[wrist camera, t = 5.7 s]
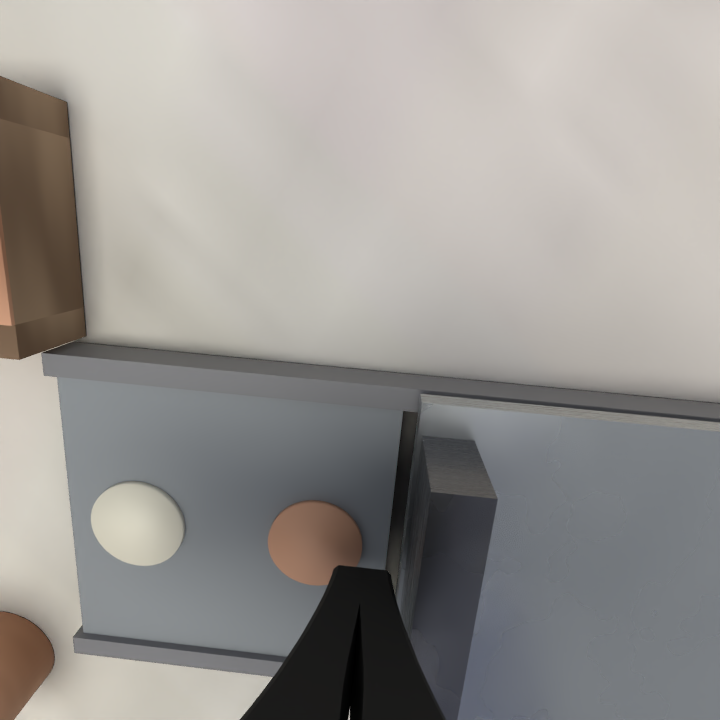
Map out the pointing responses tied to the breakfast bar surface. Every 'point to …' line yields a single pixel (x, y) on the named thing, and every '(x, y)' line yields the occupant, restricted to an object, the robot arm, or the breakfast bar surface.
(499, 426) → the cover
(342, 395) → the pattern board
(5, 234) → the socket board
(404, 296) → the breakfast bar surface
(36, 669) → the peg
